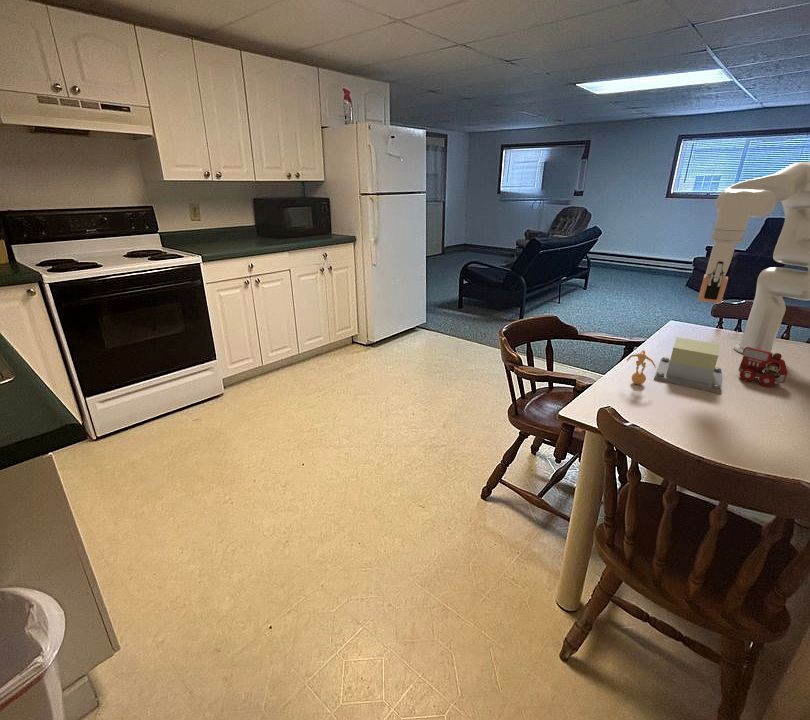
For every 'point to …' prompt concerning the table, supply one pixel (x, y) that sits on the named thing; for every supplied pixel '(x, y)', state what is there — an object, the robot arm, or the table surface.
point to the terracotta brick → (704, 287)
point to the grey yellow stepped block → (692, 365)
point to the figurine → (638, 376)
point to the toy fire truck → (762, 367)
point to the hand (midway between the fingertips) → (710, 296)
